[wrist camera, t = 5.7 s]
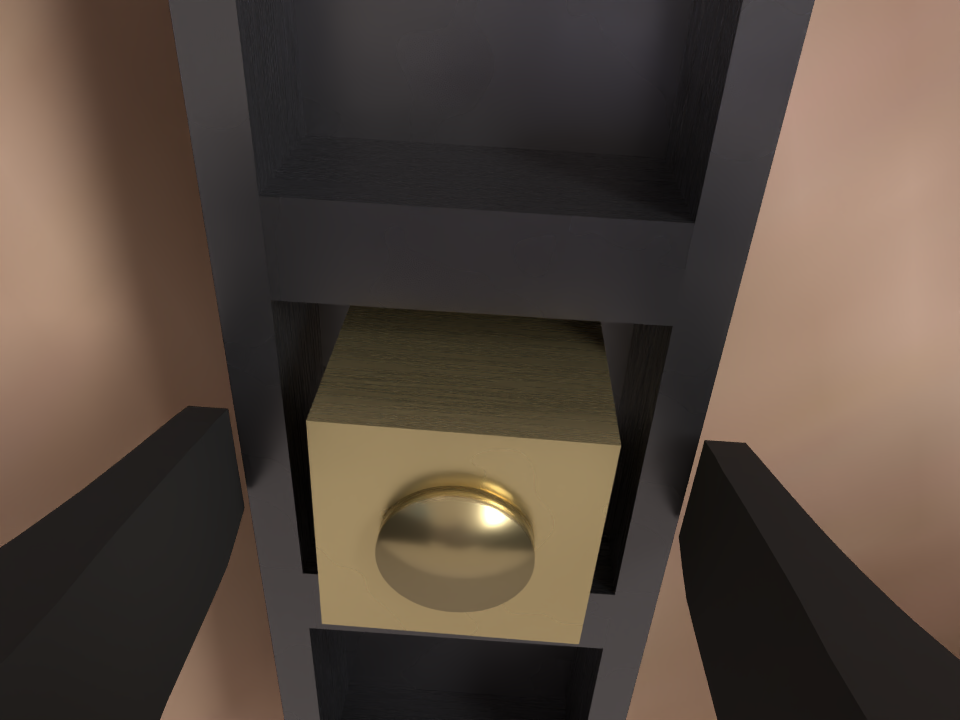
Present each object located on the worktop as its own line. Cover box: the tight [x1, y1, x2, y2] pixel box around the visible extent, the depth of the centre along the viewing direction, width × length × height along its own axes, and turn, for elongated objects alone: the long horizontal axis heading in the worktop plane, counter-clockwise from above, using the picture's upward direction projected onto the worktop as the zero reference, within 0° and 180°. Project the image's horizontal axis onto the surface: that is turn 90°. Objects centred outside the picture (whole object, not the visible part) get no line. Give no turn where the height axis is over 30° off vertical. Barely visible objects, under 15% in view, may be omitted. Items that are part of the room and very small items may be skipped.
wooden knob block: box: [306, 305, 621, 644], centre depth 12 cm, size 4×4×4 cm
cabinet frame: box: [168, 0, 815, 720], centre depth 13 cm, size 7×22×3 cm, turn 177°
